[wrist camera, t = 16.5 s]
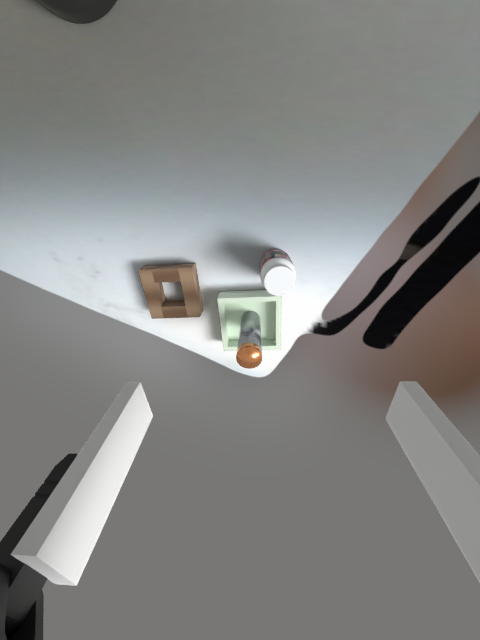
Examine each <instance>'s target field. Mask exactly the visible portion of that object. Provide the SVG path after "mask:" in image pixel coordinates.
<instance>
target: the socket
mask: <svg viewBox="0 0 480 640" xmlns="http://www.w3.org/2000/svg"><path fill="white" fill-rule="evenodd" d="M138 271H139V275H140V278H141V282H142V286H143V289H144V293H145V296H146V300H147V303H148V307H149V310H150V314H151V317H152V319H154V318H185V317H200V316H201V314H202V312H203V307H202V300H201V294H200V288H199V282H198V275H197V269H196V263H190V264H171V265H153V266H144V267H143V268H141V269H139V270H138ZM180 281H181V286H182V291H183V296H184V300H177V301H166V298H165V294H164V290H163V286H162V282H180Z"/></svg>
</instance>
